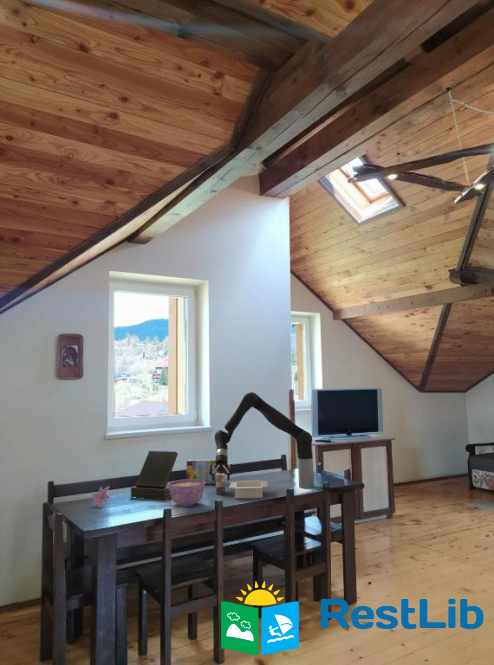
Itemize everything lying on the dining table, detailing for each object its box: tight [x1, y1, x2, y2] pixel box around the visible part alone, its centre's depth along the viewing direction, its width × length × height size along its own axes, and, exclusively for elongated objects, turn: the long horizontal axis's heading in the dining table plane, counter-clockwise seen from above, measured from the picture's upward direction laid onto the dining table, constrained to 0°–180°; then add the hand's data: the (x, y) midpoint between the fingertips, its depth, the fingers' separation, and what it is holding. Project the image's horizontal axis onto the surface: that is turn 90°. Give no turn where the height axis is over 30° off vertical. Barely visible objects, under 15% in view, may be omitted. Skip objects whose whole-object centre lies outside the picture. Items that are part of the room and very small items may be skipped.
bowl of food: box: [168, 478, 206, 507], centre depth 257 cm, size 20×20×12 cm
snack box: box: [186, 458, 220, 485], centre depth 314 cm, size 21×6×15 cm, turn 84°
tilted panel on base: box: [130, 450, 179, 501], centre depth 282 cm, size 23×20×25 cm
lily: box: [90, 485, 111, 508], centre depth 261 cm, size 12×12×10 cm
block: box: [215, 472, 226, 495], centre depth 282 cm, size 5×5×11 cm
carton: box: [229, 479, 268, 499], centre depth 276 cm, size 22×22×6 cm
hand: (220, 479), depth 286 cm, fingers open, 8 cm apart
